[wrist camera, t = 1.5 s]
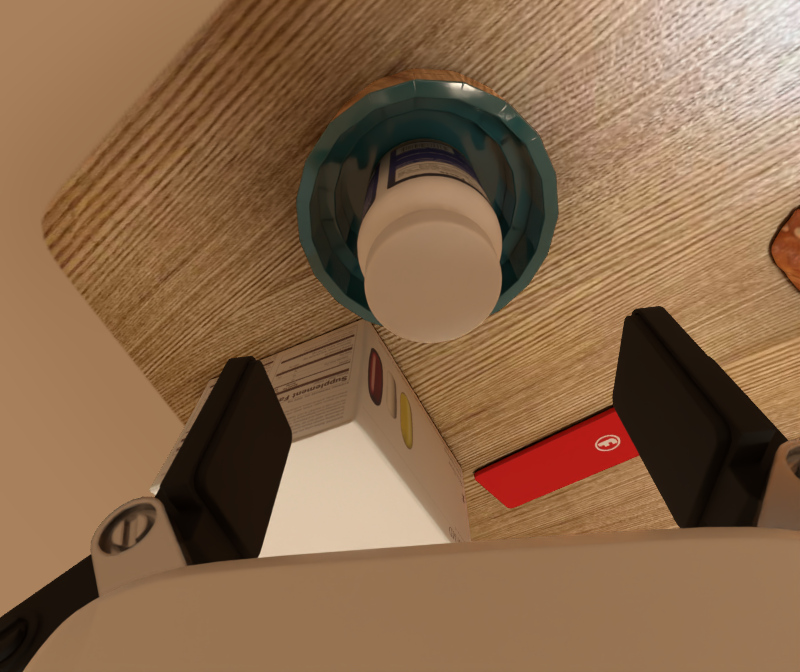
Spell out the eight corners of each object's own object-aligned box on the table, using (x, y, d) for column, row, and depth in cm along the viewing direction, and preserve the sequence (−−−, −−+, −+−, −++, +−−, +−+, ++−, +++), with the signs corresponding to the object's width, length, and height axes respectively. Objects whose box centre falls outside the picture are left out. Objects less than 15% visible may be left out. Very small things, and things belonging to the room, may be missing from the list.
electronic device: (508, 504, 39) (678, 433, 33) (509, 510, 39) (681, 438, 33) (471, 472, 37) (648, 389, 31) (472, 478, 36) (652, 394, 30)
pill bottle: (421, 264, 25) (428, 380, 17) (345, 195, 23) (311, 290, 15) (501, 193, 23) (553, 289, 15) (425, 107, 20) (436, 164, 12)
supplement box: (465, 467, 36) (481, 584, 29) (330, 505, 40) (312, 619, 32) (369, 312, 28) (355, 423, 20) (206, 379, 31) (141, 495, 23)
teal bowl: (353, 23, 19) (338, 24, 15) (574, 125, 21) (614, 149, 17) (295, 248, 25) (273, 292, 21) (471, 308, 27) (482, 358, 23)
